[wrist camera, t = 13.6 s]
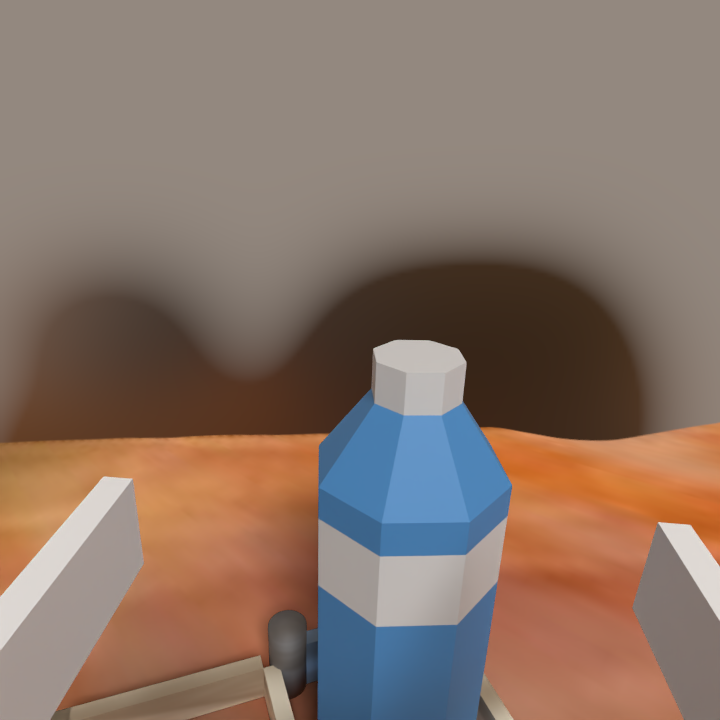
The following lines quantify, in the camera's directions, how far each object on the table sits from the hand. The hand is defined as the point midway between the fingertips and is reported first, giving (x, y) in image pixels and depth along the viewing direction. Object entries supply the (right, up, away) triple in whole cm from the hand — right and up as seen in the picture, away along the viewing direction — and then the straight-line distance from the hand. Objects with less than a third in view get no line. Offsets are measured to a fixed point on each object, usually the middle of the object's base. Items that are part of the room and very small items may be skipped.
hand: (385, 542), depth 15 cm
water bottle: (+1, -19, +20) cm, 27 cm away
